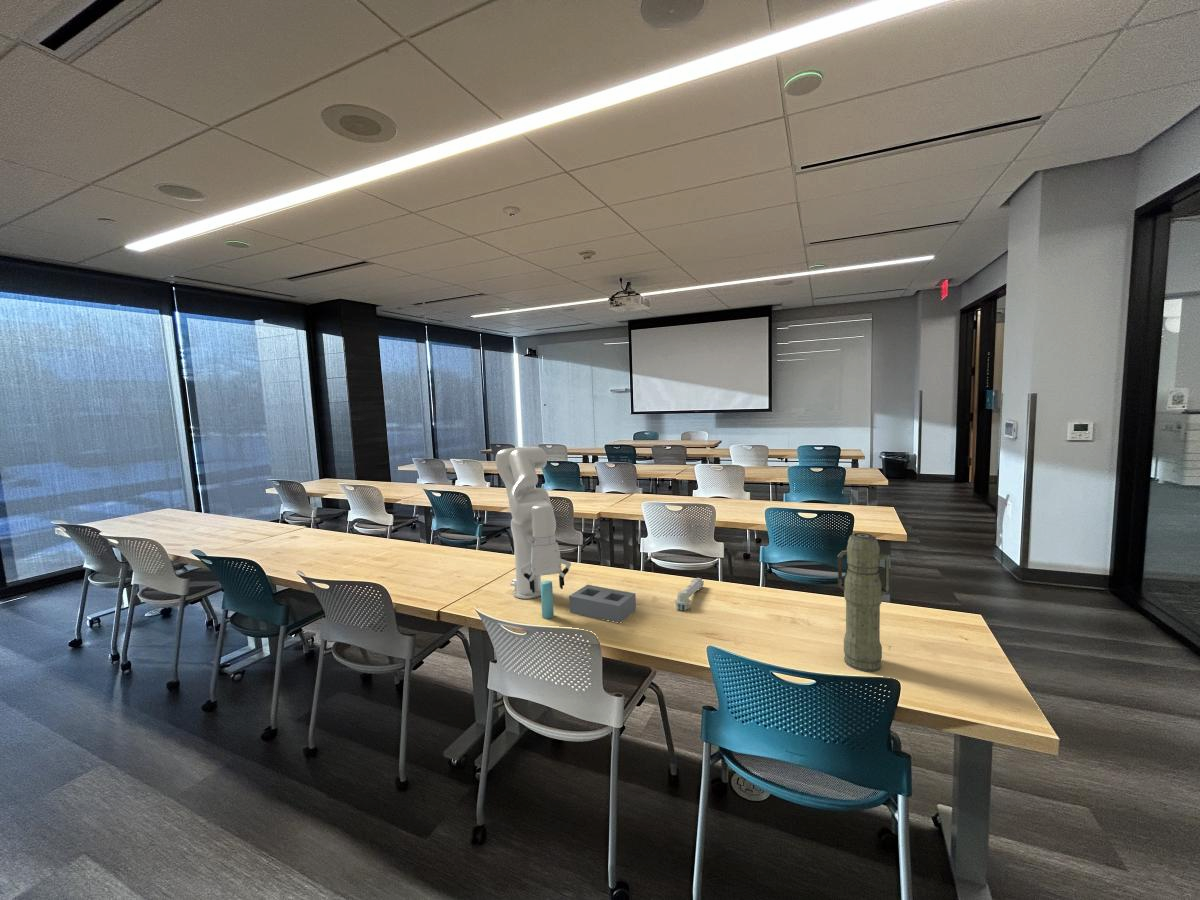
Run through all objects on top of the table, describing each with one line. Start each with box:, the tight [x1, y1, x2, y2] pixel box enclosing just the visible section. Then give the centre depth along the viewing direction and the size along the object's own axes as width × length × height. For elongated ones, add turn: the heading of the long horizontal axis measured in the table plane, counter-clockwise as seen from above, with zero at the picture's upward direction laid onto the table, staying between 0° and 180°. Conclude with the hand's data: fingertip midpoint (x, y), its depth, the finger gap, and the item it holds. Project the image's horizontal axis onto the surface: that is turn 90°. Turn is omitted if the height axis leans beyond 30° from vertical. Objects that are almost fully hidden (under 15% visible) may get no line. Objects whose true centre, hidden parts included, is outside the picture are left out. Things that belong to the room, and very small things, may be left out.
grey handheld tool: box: [674, 577, 704, 611], centre depth 177 cm, size 5×7×25 cm
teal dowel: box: [540, 580, 555, 620], centre depth 166 cm, size 4×4×12 cm
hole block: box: [568, 584, 637, 624], centre depth 169 cm, size 20×12×6 cm, turn 59°
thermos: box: [837, 532, 890, 673], centre depth 128 cm, size 9×12×35 cm
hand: (547, 589), depth 165 cm, fingers open, 9 cm apart
